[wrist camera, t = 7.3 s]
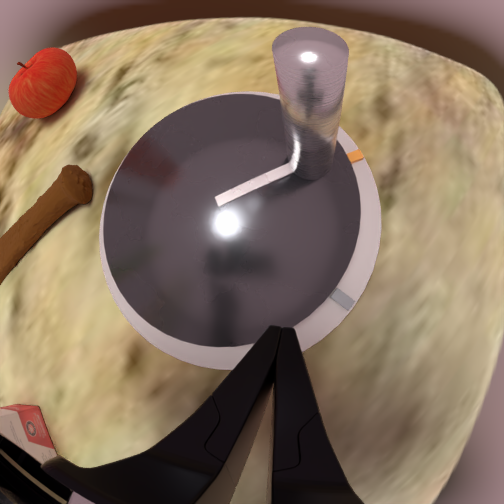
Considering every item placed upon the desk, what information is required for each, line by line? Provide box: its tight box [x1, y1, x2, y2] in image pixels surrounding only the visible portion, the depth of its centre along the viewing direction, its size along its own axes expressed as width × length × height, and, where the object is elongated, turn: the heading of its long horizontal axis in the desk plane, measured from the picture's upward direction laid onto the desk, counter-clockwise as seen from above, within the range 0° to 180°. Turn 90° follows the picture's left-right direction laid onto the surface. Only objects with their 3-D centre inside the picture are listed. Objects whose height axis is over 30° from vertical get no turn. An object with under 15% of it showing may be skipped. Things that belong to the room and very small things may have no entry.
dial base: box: [99, 91, 381, 370], centre depth 17 cm, size 18×18×1 cm
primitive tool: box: [0, 165, 92, 285], centre depth 20 cm, size 19×6×4 cm, turn 117°
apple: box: [9, 48, 77, 118], centre depth 20 cm, size 8×8×8 cm
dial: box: [103, 27, 361, 347], centre depth 12 cm, size 15×15×9 cm
